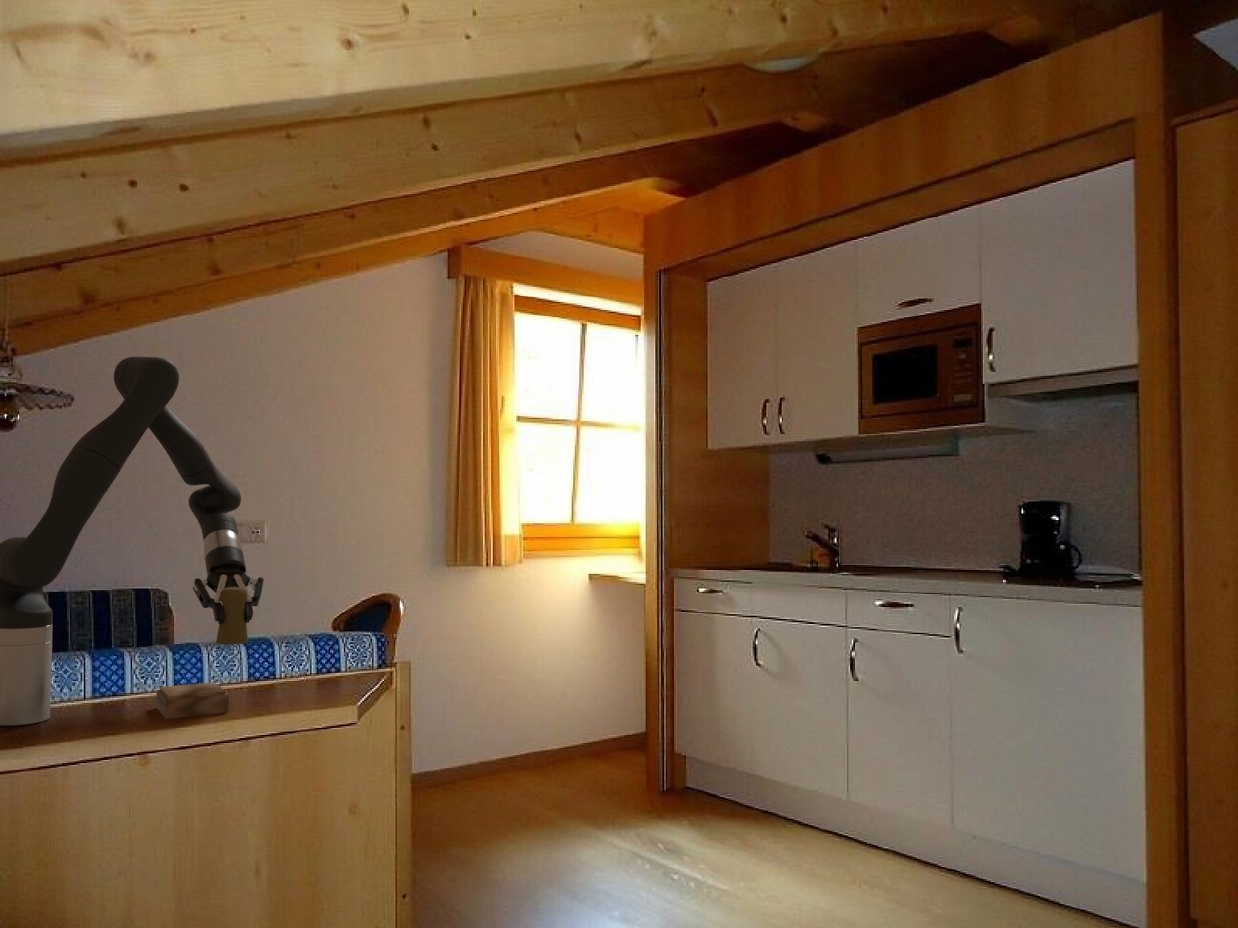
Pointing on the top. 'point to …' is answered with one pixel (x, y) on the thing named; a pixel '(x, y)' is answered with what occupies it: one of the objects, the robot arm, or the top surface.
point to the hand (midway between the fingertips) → (234, 620)
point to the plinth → (191, 700)
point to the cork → (233, 617)
